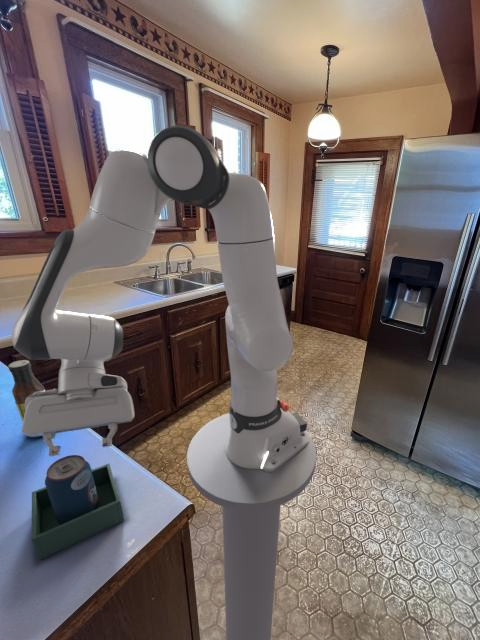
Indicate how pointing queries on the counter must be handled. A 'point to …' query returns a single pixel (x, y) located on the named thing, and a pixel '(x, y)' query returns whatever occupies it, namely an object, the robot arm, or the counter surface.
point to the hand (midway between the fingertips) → (81, 451)
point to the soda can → (71, 488)
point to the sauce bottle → (23, 384)
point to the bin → (57, 537)
